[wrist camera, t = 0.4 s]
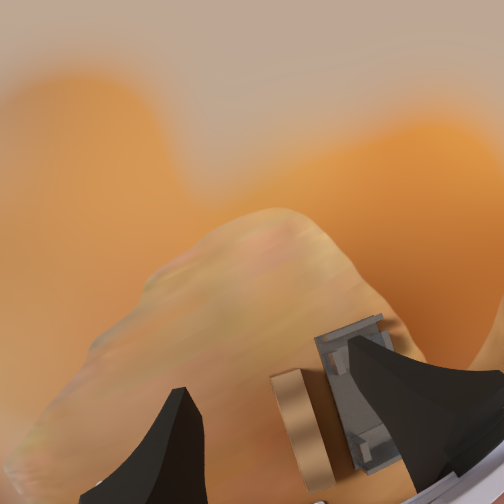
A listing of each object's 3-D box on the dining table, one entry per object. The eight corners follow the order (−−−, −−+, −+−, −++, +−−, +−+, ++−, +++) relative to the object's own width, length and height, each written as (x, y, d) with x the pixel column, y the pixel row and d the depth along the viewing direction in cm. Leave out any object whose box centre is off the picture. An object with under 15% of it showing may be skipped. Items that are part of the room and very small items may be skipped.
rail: (327, 472, 29) (336, 485, 25) (303, 480, 29) (309, 494, 24) (293, 367, 35) (299, 368, 31) (268, 375, 35) (270, 378, 30)
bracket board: (407, 441, 30) (422, 447, 26) (354, 468, 29) (364, 478, 25) (371, 316, 37) (384, 310, 33) (313, 337, 37) (321, 334, 32)
